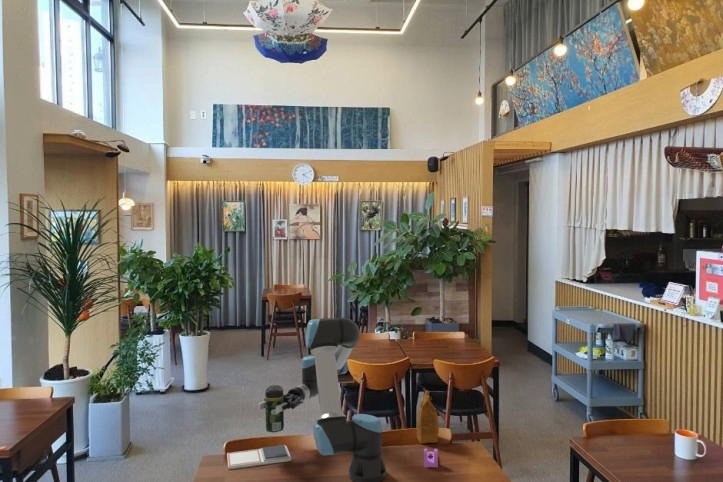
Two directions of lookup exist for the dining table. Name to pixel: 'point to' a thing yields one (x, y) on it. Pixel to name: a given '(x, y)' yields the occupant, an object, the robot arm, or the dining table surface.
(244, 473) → the dining table surface
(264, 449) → the ink pad
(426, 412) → the coffee package
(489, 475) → the dining table surface
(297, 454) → the dining table surface
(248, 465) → the board
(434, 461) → the bracket
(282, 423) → the coffee jar
